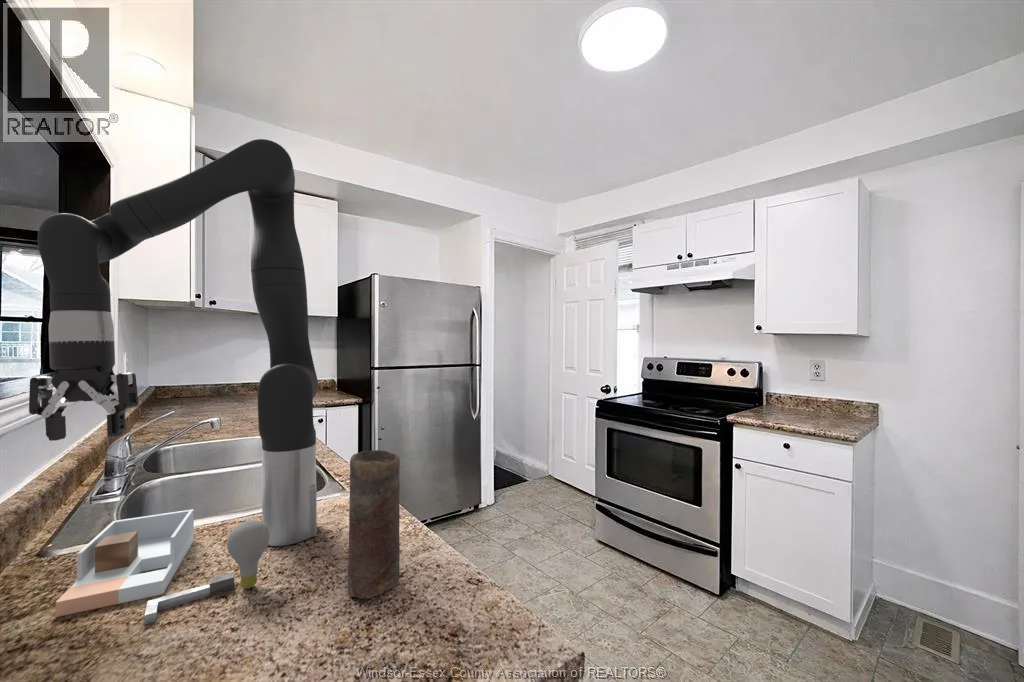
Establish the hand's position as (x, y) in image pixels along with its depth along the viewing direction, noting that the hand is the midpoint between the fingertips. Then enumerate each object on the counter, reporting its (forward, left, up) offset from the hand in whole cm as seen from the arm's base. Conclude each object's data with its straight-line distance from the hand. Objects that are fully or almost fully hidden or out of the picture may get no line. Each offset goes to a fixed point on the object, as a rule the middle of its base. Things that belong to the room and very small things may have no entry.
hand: (86, 437), depth 69 cm
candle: (-42, +27, -22) cm, 54 cm away
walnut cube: (-5, +5, -20) cm, 21 cm away
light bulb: (-25, +18, -22) cm, 38 cm away
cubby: (-8, +5, -22) cm, 24 cm away
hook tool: (-18, +19, -22) cm, 34 cm away
